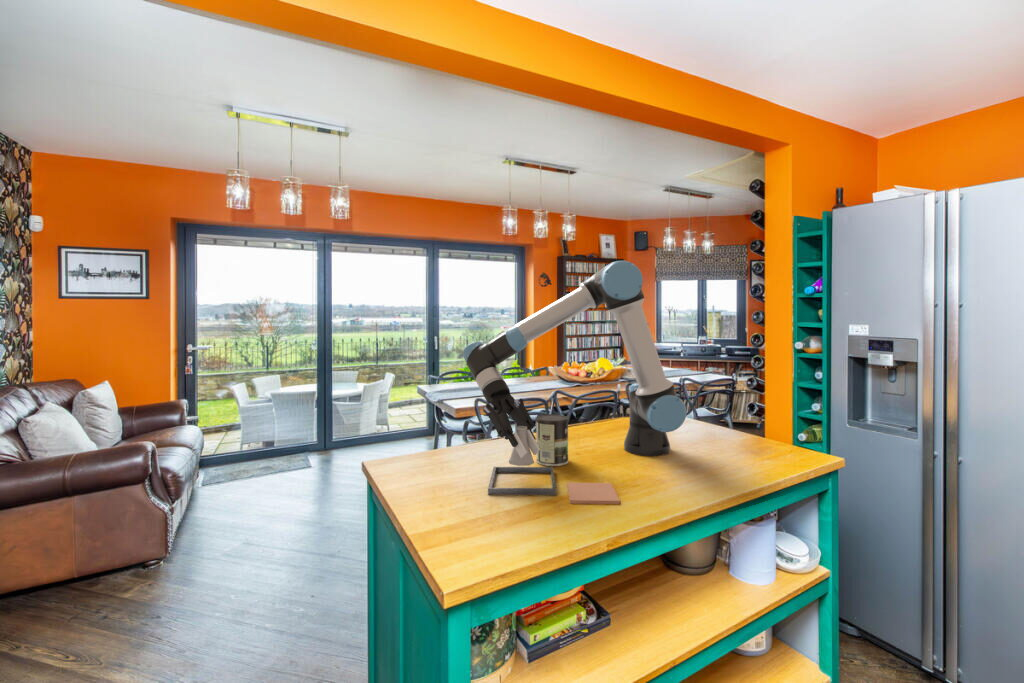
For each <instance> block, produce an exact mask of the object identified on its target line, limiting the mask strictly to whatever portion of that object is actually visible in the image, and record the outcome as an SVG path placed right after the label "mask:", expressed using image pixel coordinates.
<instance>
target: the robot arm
mask: <svg viewBox="0 0 1024 683" xmlns="http://www.w3.org/2000/svg"><path fill="white" fill-rule="evenodd" d="M643 282H644V278H643V274H642V272H641V270H640V268H639V267H638V266H637V265H636V264H635V263H632V262H631V261H627V260H616V261H612V262H610V263H609V264H607V265H606V266H605V265H604V266H603V267H601V268H600V269H599V270H598V271H596V272H595V273H594V274H592V275H591V276H590V277H589V278H587V279H586V280H583V282H580V283H579V287H578V288H576V289H574V290H573V291H571V292H570V293H568V294H566V295H564V296H562V297H560V298H559V299H557V300H555V301H554V302H552V303H550V304H548V305H546V306H545V307H543V308H542V309H540V310H538V311H537V312H535V313H533V314H531V315H529V316H528V317H525V319H522V320H521V321H518V322H517V323H516V324H514V325H512V326H510V327H507V329H505V330H502V331H500V332H499V333H498V334H497V335H496V336H495V337H494V338H493V339H491V340H490V341H489V342H486V343H483V342H482V341H479V340H478V341H477V340H476V341H474V342H471V343H468V345H466V346H465V347H464V349H463V351H462V356H463V358H464V359H463V360H464V361H465V363H466V366H467V367H468V370H469V371H470V373H471V374H472V376H473V378H474V380H475V382H476V384H477V385H478V388H479V390H480V392H481V393H482V394H483V397H484V399H485V401H486V402H487V403H486V405H485V406H484V408H483V409H482V410H483V413H484V414H486V416H488V418H489V420H490V422H491V424H492V425H493V427H494V429H495V430H496V433H497V434H498V436H499V437H500V438H504V440H508V442H509V443H510V445H511V446H512V447H513V448H514V447H515V449H516V451H517V452H518V454H519V456H520V458H523V457H524V456H525V455H526V454H527V451H526V449H525V447H524V445H523V444H522V442H521V440H520V438H519V436H518V435H517V431H516V432H514V431H513V428H512V427H513V426H512V424H511V422H510V419H509V417H510V418H512V420H513V421H514V422H515V424H516V425H517V426H527V430H526V436H527V442H528V445H529V448H530V451H531V454H532V456H537V453H538V451H539V450H540V448H539V446H538V444H537V443H536V435H534V432H533V431H532V430H533V428H534V427H535V426H536V425H535V422H534V420H533V419H532V417H531V414H530V413H529V412H528V410H527V408H526V406H525V404H524V400H523V398H519V399H515V398H514V396H513V395H511V389H510V388H509V386H508V384H507V383H506V381H505V380H504V379H505V378H504V377H503V376H502V374H501V373H500V371H499V369H498V367H497V366H498V365H500V364H501V363H503V362H504V361H506V360H508V359H509V358H511V357H512V356H514V355H516V354H517V353H520V352H521V351H522V350H524V349H525V348H526V347H527V346H528V344H529V343H530V342H532V341H534V340H535V339H537V338H539V337H541V336H543V335H544V334H546V333H548V332H549V331H552V330H553V329H555V328H557V327H558V326H560V325H561V324H563V323H565V322H567V321H569V320H571V319H573V318H574V317H576V316H578V315H579V314H582V313H584V311H586V310H589V309H590V308H591V309H596V308H598V307H599V306H602V305H603V304H605V307H606V309H607V311H608V312H609V313H611V314H612V315H614V317H615V321H616V324H617V326H618V329H619V332H620V336H621V338H622V341H623V342H622V343H623V344H624V347H625V351H626V353H627V356H628V359H629V362H630V365H631V367H632V368H631V369H632V371H633V374H634V376H635V380H636V383H632V384H631V385H630V386H629V392H628V395H629V427H628V429H627V433H626V436H625V438H624V439H625V440H624V441H623V443H624V444H623V448H624V450H625V451H626V452H628V453H631V454H634V455H638V456H647V457H659V456H665V455H668V454H669V453H670V452H671V444H670V441H669V438H668V434H667V433H670V432H674V431H676V430H679V428H680V427H682V425H684V422H685V420H686V418H687V413H688V412H687V407H686V405H685V402H684V401H683V400H682V399H681V397H678V394H677V390H676V389H675V388H676V387H675V385H674V382H673V381H671V380H669V379H668V378H667V377H666V375H665V374H666V373H665V371H664V368H663V365H662V362H661V360H660V356H659V353H658V350H657V346H656V345H655V341H654V338H653V335H652V332H651V330H650V326H649V324H648V320H647V318H646V315H645V311H644V309H643V303H644V302H645V295H644V292H643V289H642V287H643V284H644V283H643Z"/></svg>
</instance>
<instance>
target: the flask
mask: <svg viewBox="0 0 1024 683" xmlns="http://www.w3.org/2000/svg"><path fill="white" fill-rule="evenodd" d="M515 429H516V433H517V435H518V436H519V438H520V440H521V442H522V444H523V445H524V447H525V449H526V451H527V454H526V455H525V456H524V457H523V458H520V456H519V454H518V452H517V451H516V449H515V447H513V448H512V450H511V451H512V452H511V454H510V456H509V460H508V464H509V465H514V466H516V467H530V466H531V465H533V464H535V460H534V458H533V453H532V451H531V449H530V448H529V445H528V442H527V436H526V430H527V426H518V425H517V426H516V427H515Z"/></svg>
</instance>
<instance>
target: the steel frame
mask: <svg viewBox="0 0 1024 683" xmlns="http://www.w3.org/2000/svg"><path fill="white" fill-rule="evenodd" d="M497 473H503V474H504V473H507V474H508V473H511V474H513V473H514V474H515V473H516V474H518V473H519V474H521V473H522V474H550V481H551V488H549V487H544V488H543V487H494V485H495V480H496V474H497ZM487 495H489V496H490V495H492V496H493V495H496V496H497V495H498V496H500V495H501V496H504V495H505V496H506V495H507V496H512V495H513V496H515V495H516V496H557V485H556V478H555V472H554V466H493V468H492V472H491V475H490V480H489V484H488V488H487Z"/></svg>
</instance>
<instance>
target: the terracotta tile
mask: <svg viewBox="0 0 1024 683" xmlns="http://www.w3.org/2000/svg"><path fill="white" fill-rule="evenodd" d="M566 488H567V492H568V498H569V502H570V504H574V505H575V504H576V505H577V504H580V505H581V504H582V505H584V504H585V505H588V504H592V505H594V504H596V505H597V504H598V505H599V504H600V505H620V504H621V500H620V498H619V496H618V494H617V492H616V490H615V488H614V486H613V483H611V482H566Z"/></svg>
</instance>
